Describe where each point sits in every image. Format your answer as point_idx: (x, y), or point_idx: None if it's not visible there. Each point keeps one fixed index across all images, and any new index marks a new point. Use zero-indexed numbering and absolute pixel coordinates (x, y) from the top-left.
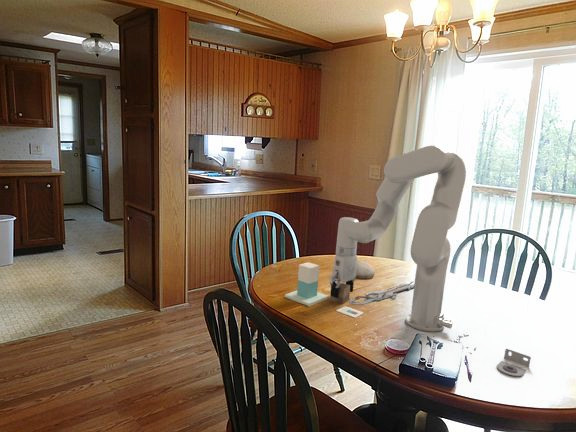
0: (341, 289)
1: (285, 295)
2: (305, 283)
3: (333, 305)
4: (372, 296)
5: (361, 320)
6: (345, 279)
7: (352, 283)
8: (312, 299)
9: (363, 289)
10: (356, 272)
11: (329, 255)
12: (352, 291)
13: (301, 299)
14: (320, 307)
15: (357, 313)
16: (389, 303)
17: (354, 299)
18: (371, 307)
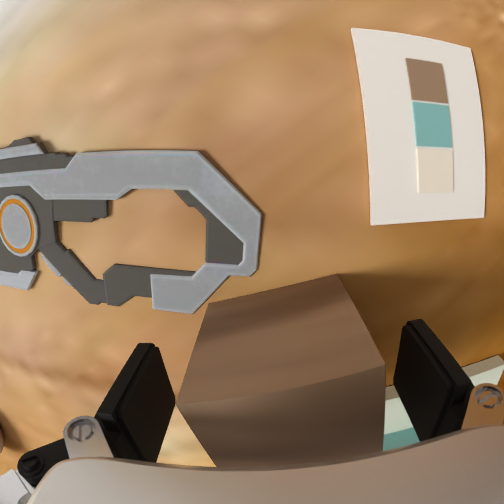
0: (379, 382)
1: None
2: None
3: (415, 297)
4: (17, 222)
5: (454, 3)
6: (472, 473)
7: (122, 409)
8: None
9: (9, 340)
10: (2, 478)
11: None
12: (143, 343)
13: None
14: (486, 316)
15: (414, 59)
16: (14, 76)
17: (166, 277)
18: (177, 65)
